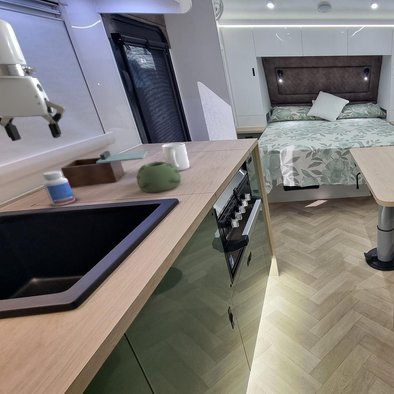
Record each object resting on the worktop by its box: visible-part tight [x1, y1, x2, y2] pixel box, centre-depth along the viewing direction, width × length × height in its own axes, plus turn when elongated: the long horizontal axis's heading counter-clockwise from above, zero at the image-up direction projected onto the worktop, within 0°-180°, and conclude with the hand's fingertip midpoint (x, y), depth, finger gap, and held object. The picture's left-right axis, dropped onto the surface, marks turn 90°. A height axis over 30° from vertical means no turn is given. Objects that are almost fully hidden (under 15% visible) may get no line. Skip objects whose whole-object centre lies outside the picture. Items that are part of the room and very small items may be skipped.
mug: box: [161, 142, 191, 172], centre depth 120 cm, size 12×8×10 cm
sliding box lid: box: [96, 150, 149, 164], centre depth 112 cm, size 14×13×2 cm
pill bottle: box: [42, 170, 76, 206], centre depth 89 cm, size 6×5×10 cm
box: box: [60, 156, 125, 189], centre depth 110 cm, size 14×13×7 cm
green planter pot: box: [136, 160, 182, 193], centre depth 102 cm, size 16×13×9 cm
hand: (37, 138), depth 83 cm, fingers open, 8 cm apart
